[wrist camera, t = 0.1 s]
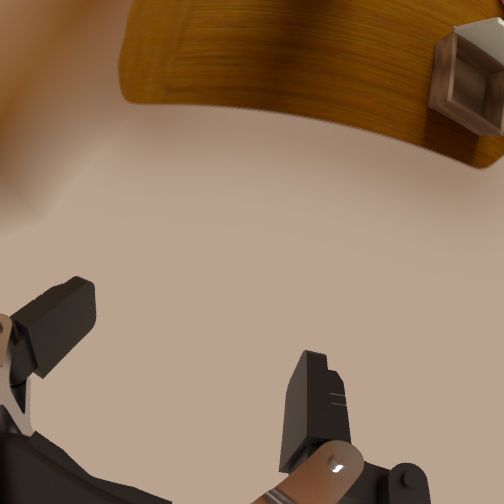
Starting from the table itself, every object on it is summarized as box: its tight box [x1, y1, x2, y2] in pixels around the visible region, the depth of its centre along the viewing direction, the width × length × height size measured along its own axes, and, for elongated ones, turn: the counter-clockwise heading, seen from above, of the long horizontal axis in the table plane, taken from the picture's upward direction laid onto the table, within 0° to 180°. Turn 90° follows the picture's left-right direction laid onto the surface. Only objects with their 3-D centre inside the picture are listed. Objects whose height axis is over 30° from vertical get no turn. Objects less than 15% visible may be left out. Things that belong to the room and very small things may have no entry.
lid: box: [452, 17, 504, 65], centre depth 15 cm, size 12×10×1 cm
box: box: [427, 31, 504, 136], centre depth 24 cm, size 11×10×6 cm
